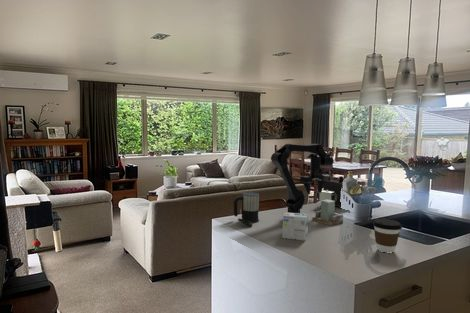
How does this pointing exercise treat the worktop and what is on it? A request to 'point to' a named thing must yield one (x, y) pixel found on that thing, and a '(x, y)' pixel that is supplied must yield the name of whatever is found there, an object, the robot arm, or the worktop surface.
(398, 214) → the worktop surface
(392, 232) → the coffee cup
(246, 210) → the milk frother
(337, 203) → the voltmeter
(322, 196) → the pneumatic valve
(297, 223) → the light bulb box
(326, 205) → the block
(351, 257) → the worktop surface
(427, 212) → the worktop surface
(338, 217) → the brown shallow tray
